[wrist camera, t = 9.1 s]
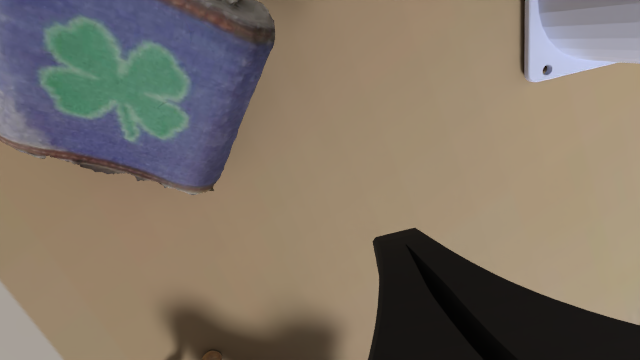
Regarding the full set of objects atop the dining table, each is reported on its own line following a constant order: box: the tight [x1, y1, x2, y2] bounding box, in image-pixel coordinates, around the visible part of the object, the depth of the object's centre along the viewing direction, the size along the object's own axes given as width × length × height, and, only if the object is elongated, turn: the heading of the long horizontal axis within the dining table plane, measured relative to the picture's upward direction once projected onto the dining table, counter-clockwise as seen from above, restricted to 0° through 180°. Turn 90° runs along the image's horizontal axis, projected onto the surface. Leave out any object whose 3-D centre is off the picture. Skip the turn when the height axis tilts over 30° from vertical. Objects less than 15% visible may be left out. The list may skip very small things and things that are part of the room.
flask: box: [0, 0, 275, 195], centre depth 13 cm, size 9×3×11 cm
